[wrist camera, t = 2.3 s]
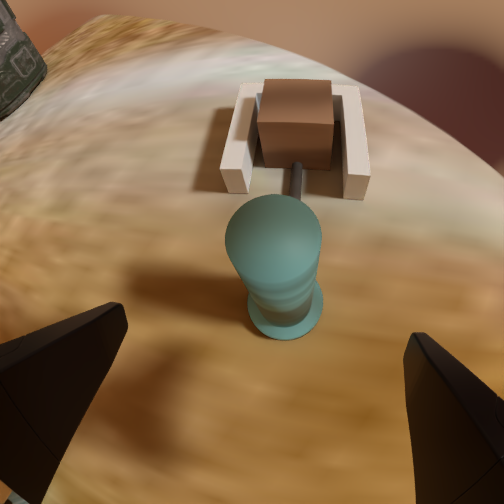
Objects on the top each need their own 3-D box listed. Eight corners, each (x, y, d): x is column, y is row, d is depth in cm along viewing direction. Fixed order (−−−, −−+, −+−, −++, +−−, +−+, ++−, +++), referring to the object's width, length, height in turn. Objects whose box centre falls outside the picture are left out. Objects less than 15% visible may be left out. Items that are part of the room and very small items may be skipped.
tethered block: (322, 343, 18) (346, 310, 9) (241, 336, 19) (187, 295, 10) (328, 125, 25) (331, 24, 15) (271, 123, 25) (255, 24, 16)
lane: (363, 200, 21) (370, 175, 19) (228, 193, 23) (219, 169, 20) (355, 111, 25) (358, 86, 22) (246, 107, 27) (241, 83, 24)
